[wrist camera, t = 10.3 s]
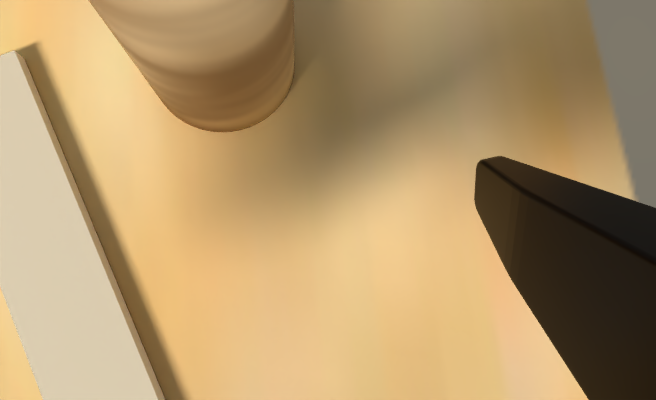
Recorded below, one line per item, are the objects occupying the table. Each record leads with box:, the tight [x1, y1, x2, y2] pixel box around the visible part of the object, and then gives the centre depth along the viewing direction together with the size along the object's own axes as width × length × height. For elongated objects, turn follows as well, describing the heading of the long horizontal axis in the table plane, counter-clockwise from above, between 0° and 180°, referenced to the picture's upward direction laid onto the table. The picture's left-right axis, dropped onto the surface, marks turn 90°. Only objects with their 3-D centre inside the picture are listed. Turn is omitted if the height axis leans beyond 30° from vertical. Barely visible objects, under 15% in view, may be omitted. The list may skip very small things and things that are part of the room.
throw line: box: [0, 50, 165, 400], centre depth 16 cm, size 16×3×1 cm, turn 26°
